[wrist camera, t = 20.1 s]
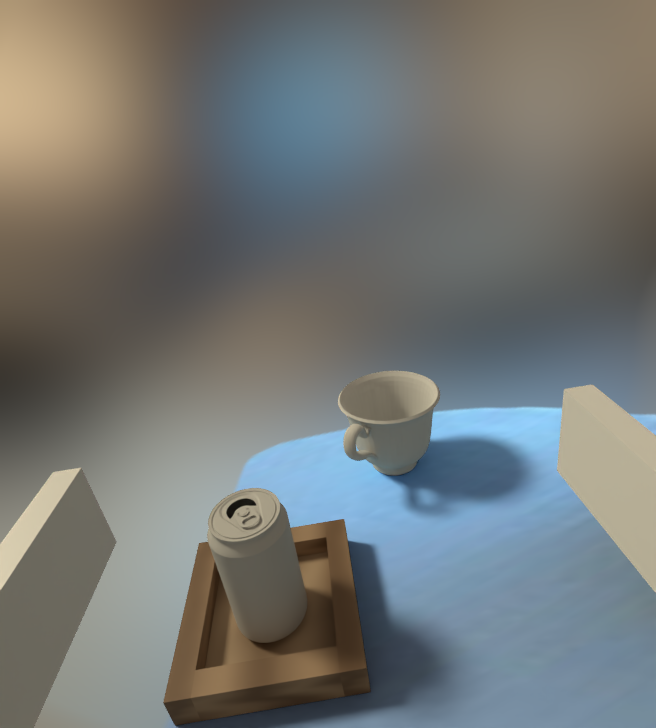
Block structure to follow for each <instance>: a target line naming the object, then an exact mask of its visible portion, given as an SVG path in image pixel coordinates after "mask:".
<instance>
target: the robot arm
mask: <svg viewBox="0 0 656 728" xmlns="http://www.w3.org/2000/svg"><path fill="white" fill-rule="evenodd" d="M557 471H558V472H559V474H560V475H561V476H562V477H563V479H564V480H565V481H566V482H567V483H568V485H569V486H570V487H571V488H572V490H573V491H574V492H575V493H576V495H577V496H578V497H579V498H580V500H581V501H582V502H583V503H584V505H585V506H586V507H587V508H588V510H589V511H590V512H591V513H592V514H593V516H594V517H595V518H596V519H597V521H598V522H599V523H600V524H601V526H602V527H603V528H604V529H605V531H606V532H607V533H608V534H609V536H610V537H611V538H612V539H613V541H614V542H615V543H616V544H617V545H618V547H619V548H620V549H621V550H622V552H623V553H624V554H625V555H626V557H627V558H628V559H629V560H630V562H631V563H632V564H633V565H634V567H635V568H636V569H637V570H638V572H639V573H640V574H641V575H642V576H643V578H644V579H645V580H646V581H647V583H648V584H649V585H650V586H651V588H652V589H653V590H654V591H655V593H656V435H654V434H653V433H652V432H651V431H649V430H648V429H647V428H646V427H644V426H643V425H642V424H641V423H639V422H638V421H637V420H636V419H634V418H633V417H632V416H631V415H629V414H628V413H627V412H626V411H624V410H623V409H622V408H621V407H620V406H618V405H617V404H616V403H615V402H613V401H612V400H611V399H609V398H608V397H607V396H606V395H604V394H603V393H602V392H601V391H600V390H598V389H597V388H596V387H595V386H593V385H587V386H581V387H575V388H569V389H564V396H563V407H562V419H561V431H560V442H559V454H558V466H557ZM115 544H116V540H115V538H114V536H113V533H112V531H111V529H110V527H109V525H108V523H107V521H106V519H105V517H104V514H103V512H102V510H101V509H100V506H99V504H98V502H97V500H96V498H95V496H94V494H93V491H92V489H91V487H90V485H89V483H88V481H87V479H86V477H85V475H84V473H83V470H82V468H76V469H70V470H64V471H58V472H53V473H52V474H51V476H50V477H49V479H48V480H47V481H46V483H45V484H44V485H43V487H42V488H41V489H40V491H39V492H38V494H37V495H36V496H35V498H34V499H33V500H32V502H31V503H30V505H29V506H28V507H27V509H26V510H25V511H24V513H23V514H22V516H21V517H20V518H19V520H18V521H17V522H16V524H15V525H14V526H13V528H12V529H11V530H10V532H9V533H8V534H7V536H6V537H5V538H4V540H3V541H2V543H1V544H0V728H34V726H35V723H36V721H37V719H38V717H39V714H40V712H41V710H42V708H43V705H44V703H45V701H46V699H47V697H48V694H49V692H50V690H51V687H52V685H53V683H54V681H55V679H56V676H57V674H58V672H59V670H60V667H61V665H62V663H63V661H64V658H65V656H66V654H67V651H68V649H69V647H70V645H71V643H72V640H73V638H74V636H75V634H76V632H77V629H78V627H79V625H80V622H81V620H82V618H83V616H84V614H85V611H86V609H87V607H88V605H89V602H90V600H91V598H92V596H93V593H94V591H95V589H96V587H97V584H98V582H99V580H100V578H101V575H102V573H103V571H104V569H105V567H106V564H107V562H108V560H109V558H110V555H111V553H112V551H113V549H114V546H115Z"/></svg>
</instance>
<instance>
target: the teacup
mask: <svg viewBox="0 0 656 728" xmlns="http://www.w3.org/2000/svg"><path fill="white" fill-rule="evenodd" d="M439 399H440V391H439V388H438V387H437V385H436V384H435V383H434V382H432V381H431V380H430V379H428V378H427V377H424V376H422V375H419V374H416V373H411V372H406V371H384V372H378V373H373V374H369V375H366V376H363V377H360V378H358V379H356V380H354V381H352V382H351V383H350V384H348V385H347V386H346V387H345V388H344V389H343V390H342V392H341V393H340V395H339V398H338V405H339V407H340V409H341V410H342V412H343V413H345V414H346V415H347V417H348V420H349V423H350V427H349V428H348V429H347V430H346V432H345V435H344V450H345V453H346V454H347V456H348V457H349V458H351V459H353V460H357V461H360V460H364V459H366V460H367V461H368V462H370V463H372V464H373V466H374V468H375V469H376V470H377V471H379V472H380V473H383V474H386V475H401V474H405V473H407V472H409V471H411V470H412V469H413V468H414V467H415V466H416V464H417V461H418V460H419V459H420V458H421V457H422V456H423V455H424V454H425V452H426V451H427V448H428V446H429V442H430V436H431V427H432V415H433V408H434V407H435V406H436V404H437V403H438V401H439ZM356 446H357V448H358V450H359V451H356Z"/></svg>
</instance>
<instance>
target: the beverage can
mask: <svg viewBox="0 0 656 728" xmlns="http://www.w3.org/2000/svg"><path fill="white" fill-rule="evenodd" d="M208 526H209V529H208V534H207V538H208V543H209V546H210V549H211V551H212V554H213V557H214V560H215V563H216V566H217V569H218V572H219V574H220V577H221V580H222V583H223V586H224V589H225V592H226V594H227V597H228V600H229V603H230V606H231V609H232V612H233V614H234V617H235V620H236V623H237V626H238V628H239V630H240V631H241V633H242V634H243V635H244V636H245V637H247V638H248V639H250V640H252V641H255V642H259V643H270V642H275V641H278V640H281V639H283V638H285V637H286V636H288V635H290V634H291V633H292V632H293V631H294V630H295V629H296V628H297V627H298V626H299V625H300V623H301V622H302V620H303V618H304V616H305V613H306V610H307V595H306V591H305V587H304V582H303V578H302V574H301V570H300V566H299V561H298V557H297V553H296V549H295V545H294V540H293V536H292V532H291V528H290V524H289V519H288V515H287V512H286V509H285V508H284V506H283V505H282V504H281V503H280V502H279V500H278V498H277V497H276V495H275V494H273V493H272V492H270V491H268V490H265V489H260V488H250V489H244V490H240V491H237V492H235V493H232V494H230V495H229V496H227V497H226V498H224V499H223V500H221V501H220V502H219V503H218V504H217V505H216V506H215V507H214V509H213V510H212V512H211V514H210V516H209V520H208Z"/></svg>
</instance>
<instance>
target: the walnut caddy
mask: <svg viewBox="0 0 656 728" xmlns="http://www.w3.org/2000/svg"><path fill="white" fill-rule="evenodd" d="M291 532H292V536H293V540H294V545H295V549H296V553H297V557H298V561H299V566H300V570H301V574H302V578H303V582H304V587H305V591H306V595H307V610H306V613H305V616H304V618H303V620H302V622H301V623H300V625H299V626H298V627H297V628H296V629H295V630H294V631H293V632H292V633H291V634H290V635H288V636H286V637H285V638H283V639H281V640H278V641H275V642H270V643H259V642H255V641H252V640H250V639H248V638H247V637H245V636H244V635H243V634H242V633H241V631H240V630H239V628H238V626H237V623H236V620H235V617H234V614H233V612H232V609H231V606H230V603H229V600H228V597H227V594H226V592H225V589H224V586H223V583H222V580H221V577H220V574H219V572H218V569H217V566H216V563H215V560H214V557H213V554H212V551H211V549H210V546H209V543H208V542H204V543H199V546H198V550H197V555H196V559H195V564H194V568H193V573H192V577H191V582H190V586H189V591H188V595H187V599H186V604H185V608H184V613H183V618H182V622H181V627H180V631H179V636H178V640H177V644H176V649H175V653H174V658H173V662H172V666H171V671H170V675H169V680H168V684H167V689H166V693H165V698H164V702H163V703H164V705H165V707H166V709H167V711H168V713H169V715H170V717H171V719H172V721H173V722H174V724H175V725H181V724H187V723H193V722H199V721H205V720H211V719H216V718H222V717H228V716H234V715H240V714H246V713H251V712H257V711H263V710H269V709H275V708H281V707H287V706H292V705H298V704H304V703H310V702H316V701H322V700H327V699H333V698H339V697H345V696H351V695H357V694H363V693H368V692H371V690H370V684H369V677H368V671H367V664H366V658H365V651H364V644H363V638H362V631H361V625H360V618H359V611H358V605H357V598H356V592H355V585H354V578H353V572H352V565H351V559H350V552H349V545H348V539H347V533H346V527H345V521H344V519H341V520H335V521H329V522H323V523H317V524H311V525H305V526H299V527H293V528H291Z"/></svg>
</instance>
